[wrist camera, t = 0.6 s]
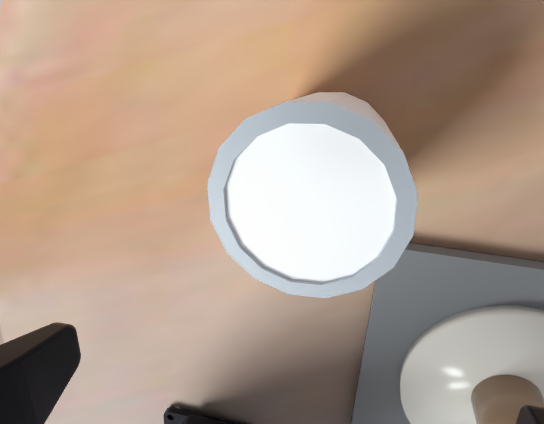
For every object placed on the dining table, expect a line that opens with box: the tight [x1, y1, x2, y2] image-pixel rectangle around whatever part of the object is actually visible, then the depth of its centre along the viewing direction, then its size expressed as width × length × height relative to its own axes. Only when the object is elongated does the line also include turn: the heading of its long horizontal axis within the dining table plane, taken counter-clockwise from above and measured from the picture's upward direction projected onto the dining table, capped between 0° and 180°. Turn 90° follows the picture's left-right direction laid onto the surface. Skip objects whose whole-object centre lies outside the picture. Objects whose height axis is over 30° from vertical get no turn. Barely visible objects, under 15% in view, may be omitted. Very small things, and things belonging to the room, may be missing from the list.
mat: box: [351, 243, 544, 424], centre depth 22 cm, size 14×14×1 cm
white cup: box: [207, 92, 418, 298], centre depth 17 cm, size 7×7×7 cm
